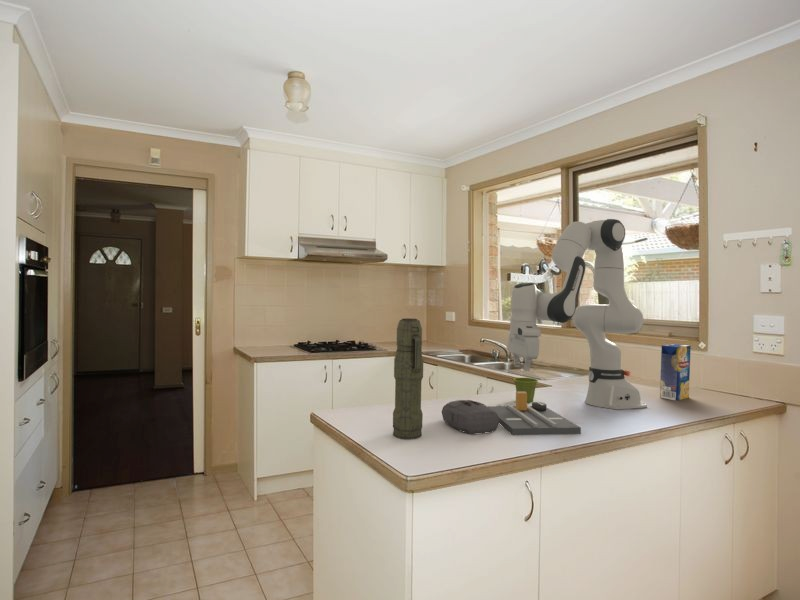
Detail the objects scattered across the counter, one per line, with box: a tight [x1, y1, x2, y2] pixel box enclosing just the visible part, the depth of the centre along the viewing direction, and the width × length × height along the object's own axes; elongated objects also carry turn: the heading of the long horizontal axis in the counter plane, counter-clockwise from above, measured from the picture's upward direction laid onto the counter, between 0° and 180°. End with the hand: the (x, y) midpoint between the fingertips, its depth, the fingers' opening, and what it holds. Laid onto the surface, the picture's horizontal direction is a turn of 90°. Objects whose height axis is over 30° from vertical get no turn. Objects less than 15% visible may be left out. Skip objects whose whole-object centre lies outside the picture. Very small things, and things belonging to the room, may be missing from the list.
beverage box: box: [659, 343, 692, 402], centre depth 211 cm, size 7×11×22 cm, turn 127°
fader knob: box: [515, 391, 528, 411], centre depth 176 cm, size 3×3×6 cm
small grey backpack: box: [441, 399, 500, 435], centre depth 163 cm, size 15×8×20 cm
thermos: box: [392, 318, 424, 440], centre depth 150 cm, size 9×12×35 cm
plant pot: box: [513, 377, 539, 404], centre depth 199 cm, size 9×9×9 cm
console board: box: [486, 401, 582, 436], centre depth 168 cm, size 22×28×4 cm
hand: (521, 368), depth 175 cm, fingers open, 8 cm apart
